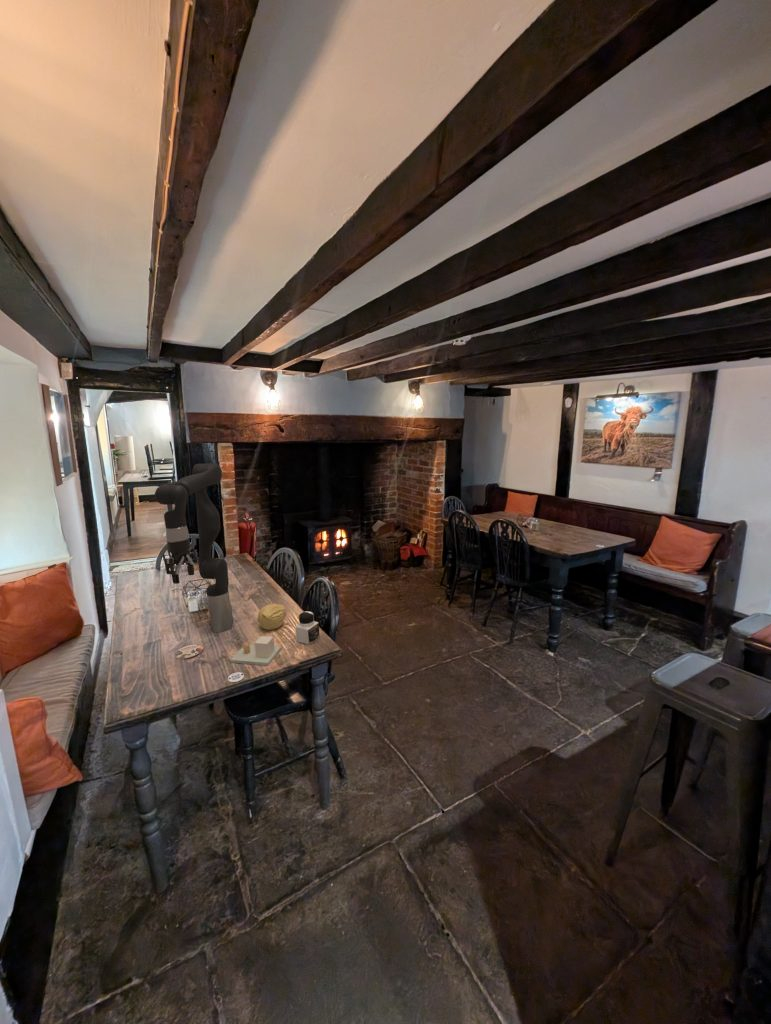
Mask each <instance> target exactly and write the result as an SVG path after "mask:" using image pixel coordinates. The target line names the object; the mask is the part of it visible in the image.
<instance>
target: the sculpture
mask: <svg viewBox="0 0 771 1024" xmlns="http://www.w3.org/2000/svg"><path fill="white" fill-rule="evenodd" d="M286 610H287V609H286V608H285V606H284V605H283V604H279V603H275V602H274V603H271V604H266V605H264V606H263V607H261V608H260V610H259V611H258V613H257V621H258V624H259V626H260V627H261V628H262V629H264V630H267V631H273V630H276V629H279V628H280V627H281V626H282V625H283V623H284V620H285V618H286V616H287V611H286Z"/></svg>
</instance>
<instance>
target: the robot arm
mask: <svg viewBox="0 0 771 1024" xmlns="http://www.w3.org/2000/svg"><path fill="white" fill-rule="evenodd" d="M191 472H192V474H189V475H186V476H184V477H181V478H179V479H178V480H175V481H172V482H168V483H163V484H161V485H159V486H158V487H157V488H156V490H155V492H154V499H155V500H156V502H157V503H159V504H160V505H168V506H169V505H174V509H172V510H168V511H166V512H165V513H164V514H163V519H164V526H165V536H166V537H165V538H166V544H167V549H168V550H167V551H168V552H169V554H170V555H171V556H170V557H165V559H164V564H165V573H166V575H171V581H172V583H173V584H175V585H178V584H180V583H181V581H180V575H179V574H180V573H179V572H180V571H179V570H180V569H181V568H182V566H184V564H186V567H187V568H186V569H187V575H188V576H194V575H195V568H194V567H195V564H196V563H197V561H198V573H199V575H200V577H201V578H202V579H205V580H214V581H215V583H214V584H211V585H208V587H206V590H205V591H206V599H207V606H208V612H209V613H208V614H209V619H210V620H209V621H210V627H211V632H213V633H224V632H226V631H229V630H230V629H232V628H233V627H234V616H233V608H232V607H233V606H232V604H231V600H230V591H229V581H230V580H229V570H228V563H227V561H226V560H225V559H224V558H214V557H212V547H213V544H214V543H215V541H216V539H217V537H218V535H219V533H220V530H221V518H220V517H221V515H220V512H219V511H218V509H217V507H216V506H215V504H214V503H213V502H212V500H211V499H210V497H209V495H208V492H207V489H206V487H209V486H213V485H217V484H219V483H221V481H222V479H223V471H222V469H221V466H220V465H219V464H217V463H214V462H213V463H196V464H194V465H193V467H192V471H191ZM193 494H194V495H195V500H196V501H195V503H196V519H197V521H196V522H197V532H198V548H199V550H198V559H197V554H196V549H195V548H194V547H191V541H190V535H189V534H190V533H189V529H188V526H187V524H188V523H187V519H186V508H187V502H188V497H189V496H191V495H193Z"/></svg>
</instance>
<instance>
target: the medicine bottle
mask: <svg viewBox="0 0 771 1024" xmlns="http://www.w3.org/2000/svg"><path fill="white" fill-rule="evenodd" d="M298 619H299V621H298V622H299V623H297V624H296V625H295V627H294V629H295V636H296V637H295V638H296V642H298V643H302V644H305V645H311V644H313V643H314V642H315V641H316V640H318V639H319V638H320V626H319V625H320V624H319V622H318V621H315V618H314V613H313V612H312V611H303V612H300V614H299V615H298Z"/></svg>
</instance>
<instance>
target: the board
mask: <svg viewBox="0 0 771 1024" xmlns="http://www.w3.org/2000/svg"><path fill="white" fill-rule="evenodd" d="M274 646H275V651H274V652H273V653H272V655H271V656H270V657H269V658H264V657H256V652H255V643H254V644H253V643H252V644H251V643H250V642H249V641H245V642H243V643H242V647H241V649H239V650H238V651H237V652H236V653H235V654H234V655H233V656H232V657H231V658H230V659H229V662H230V663H231V664H242V665H255V666H266V667H267V666H270V664H271V663H272V662H273V660H274V659H275V658H276V657H277V655H278V654H279V653H280V652H281V651H282V650H283V649H282V646H280V645H279V646H278V645H274Z"/></svg>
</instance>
